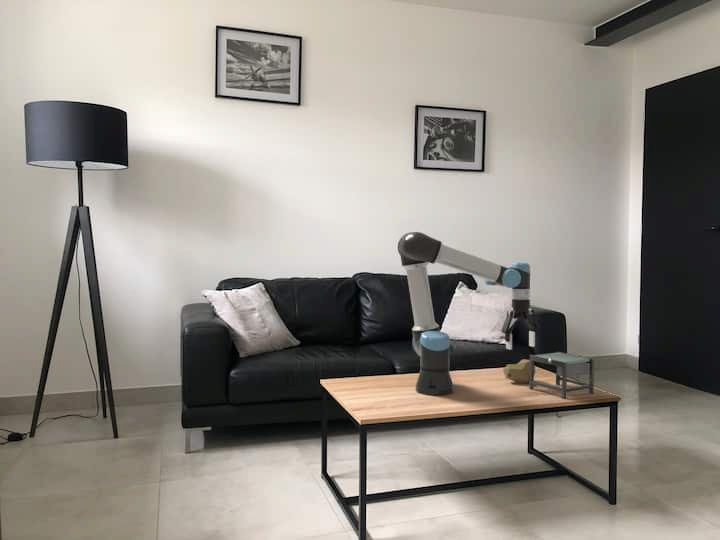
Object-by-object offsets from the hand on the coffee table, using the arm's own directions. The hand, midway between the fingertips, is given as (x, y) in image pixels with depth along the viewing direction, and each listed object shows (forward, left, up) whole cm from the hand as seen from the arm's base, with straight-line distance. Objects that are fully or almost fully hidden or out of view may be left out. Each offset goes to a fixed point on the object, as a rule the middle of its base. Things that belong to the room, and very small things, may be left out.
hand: (520, 347), depth 255 cm
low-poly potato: (0, 0, -15) cm, 15 cm away
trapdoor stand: (+3, -20, -15) cm, 25 cm away
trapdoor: (+3, -20, -7) cm, 21 cm away
